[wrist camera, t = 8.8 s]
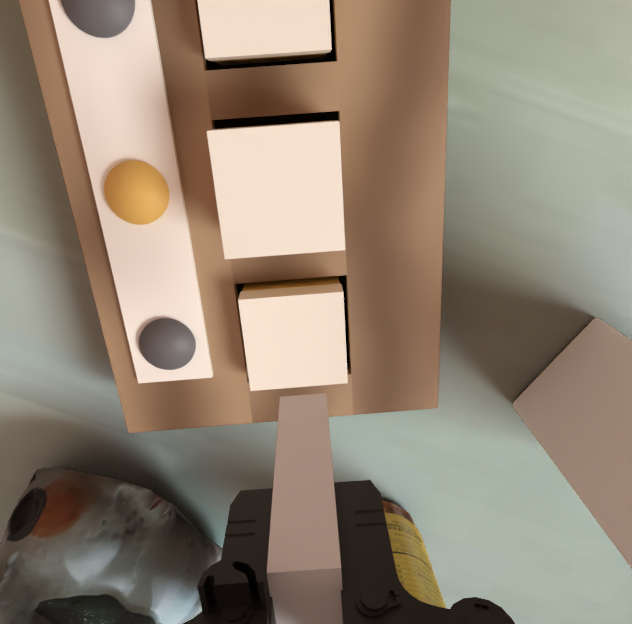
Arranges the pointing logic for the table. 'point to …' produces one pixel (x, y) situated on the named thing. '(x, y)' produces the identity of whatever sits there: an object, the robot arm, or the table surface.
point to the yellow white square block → (264, 30)
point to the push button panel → (135, 181)
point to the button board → (355, 261)
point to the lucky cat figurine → (99, 554)
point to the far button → (294, 333)
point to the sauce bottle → (411, 556)
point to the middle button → (278, 188)
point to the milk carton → (589, 424)
